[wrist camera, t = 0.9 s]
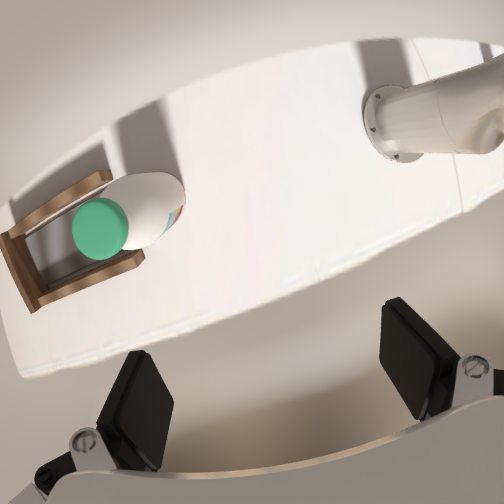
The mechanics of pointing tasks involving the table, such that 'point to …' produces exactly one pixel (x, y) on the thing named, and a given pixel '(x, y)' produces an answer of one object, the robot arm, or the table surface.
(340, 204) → the table surface
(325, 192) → the table surface
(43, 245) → the rest
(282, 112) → the table surface
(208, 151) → the table surface
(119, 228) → the milk bottle
